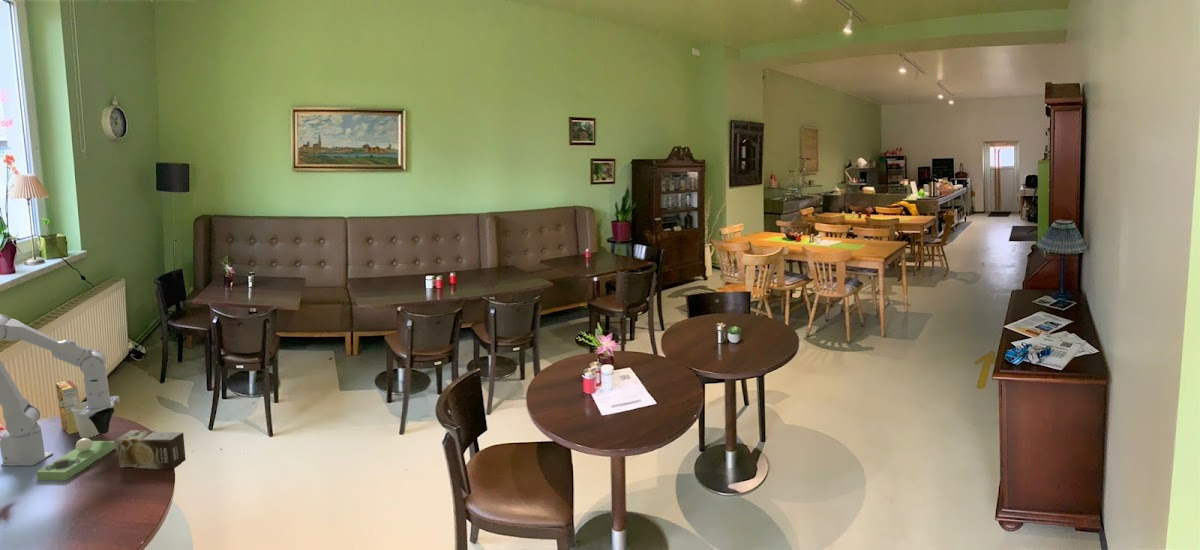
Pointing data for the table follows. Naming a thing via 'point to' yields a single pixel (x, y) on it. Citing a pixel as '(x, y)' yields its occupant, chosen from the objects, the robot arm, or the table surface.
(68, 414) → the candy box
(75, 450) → the putting mat
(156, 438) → the coffee box
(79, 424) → the dixie cup
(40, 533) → the table surface
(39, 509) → the table surface
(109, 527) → the table surface
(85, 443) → the ball
